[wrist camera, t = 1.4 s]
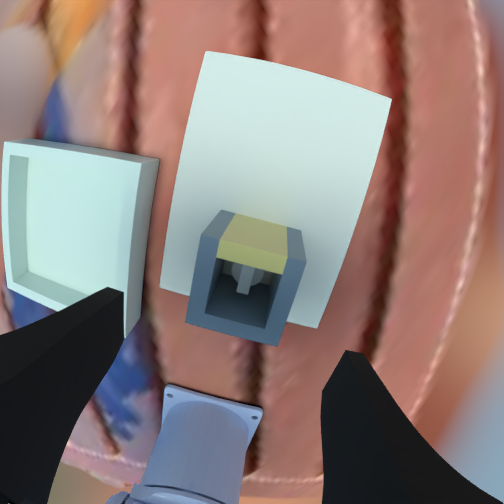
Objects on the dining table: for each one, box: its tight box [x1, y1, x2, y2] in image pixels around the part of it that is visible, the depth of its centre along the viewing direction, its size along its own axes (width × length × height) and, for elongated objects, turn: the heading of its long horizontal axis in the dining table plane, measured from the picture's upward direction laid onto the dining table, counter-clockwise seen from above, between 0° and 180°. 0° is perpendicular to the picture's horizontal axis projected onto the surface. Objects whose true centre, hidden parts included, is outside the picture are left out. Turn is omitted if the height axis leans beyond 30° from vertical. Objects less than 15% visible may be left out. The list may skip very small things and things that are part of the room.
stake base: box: [160, 51, 392, 328], centre depth 16 cm, size 14×10×4 cm
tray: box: [1, 138, 160, 338], centre depth 18 cm, size 11×11×3 cm
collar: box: [185, 210, 307, 346], centre depth 16 cm, size 4×4×4 cm
